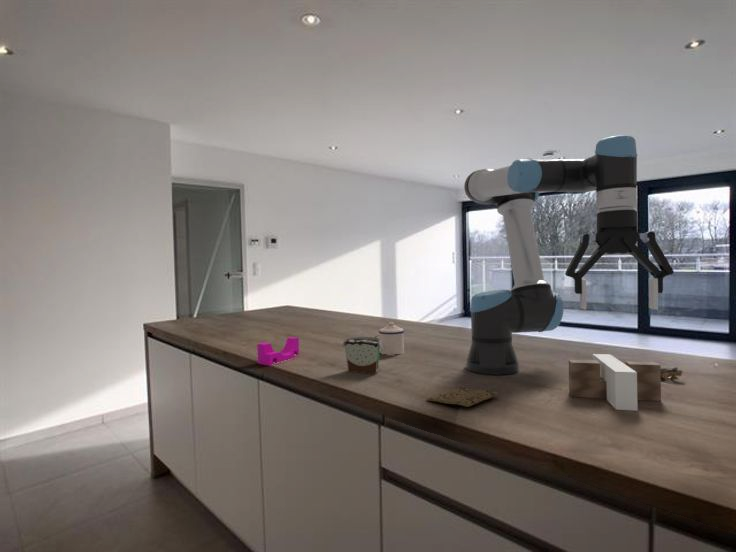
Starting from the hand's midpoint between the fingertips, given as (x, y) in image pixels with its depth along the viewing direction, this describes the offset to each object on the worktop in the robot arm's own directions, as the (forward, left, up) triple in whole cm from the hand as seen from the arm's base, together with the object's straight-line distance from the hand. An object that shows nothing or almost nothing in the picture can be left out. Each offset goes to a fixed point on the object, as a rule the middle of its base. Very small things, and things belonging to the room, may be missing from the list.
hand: (617, 309), depth 90 cm
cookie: (-33, -2, -21) cm, 40 cm away
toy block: (-95, +28, -21) cm, 101 cm away
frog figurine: (+16, +25, -22) cm, 37 cm away
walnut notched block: (0, +5, -21) cm, 21 cm away
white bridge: (0, +5, -21) cm, 21 cm away
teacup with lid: (-61, +45, -21) cm, 79 cm away
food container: (-63, +20, -21) cm, 69 cm away
